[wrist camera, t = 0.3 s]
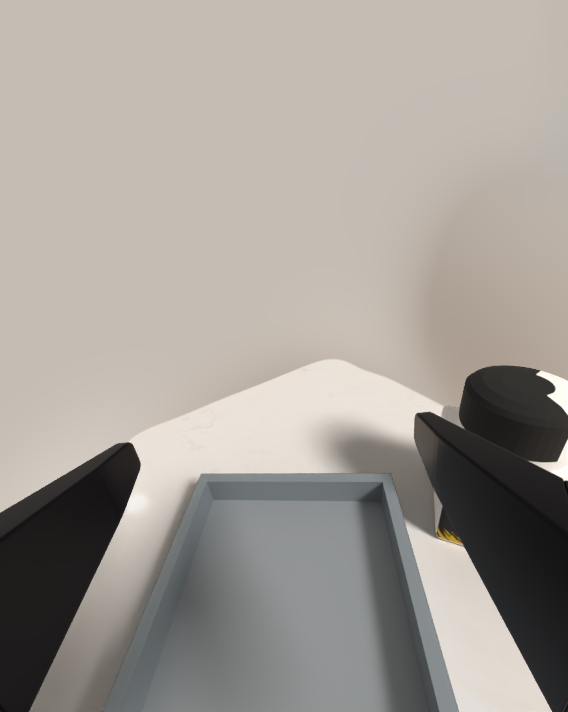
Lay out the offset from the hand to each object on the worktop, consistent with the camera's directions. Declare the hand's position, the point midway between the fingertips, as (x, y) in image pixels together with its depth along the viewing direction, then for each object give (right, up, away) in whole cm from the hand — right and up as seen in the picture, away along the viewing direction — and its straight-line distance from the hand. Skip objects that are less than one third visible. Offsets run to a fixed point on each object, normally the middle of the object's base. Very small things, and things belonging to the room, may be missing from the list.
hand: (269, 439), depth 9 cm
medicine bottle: (+16, -10, +13) cm, 23 cm away
